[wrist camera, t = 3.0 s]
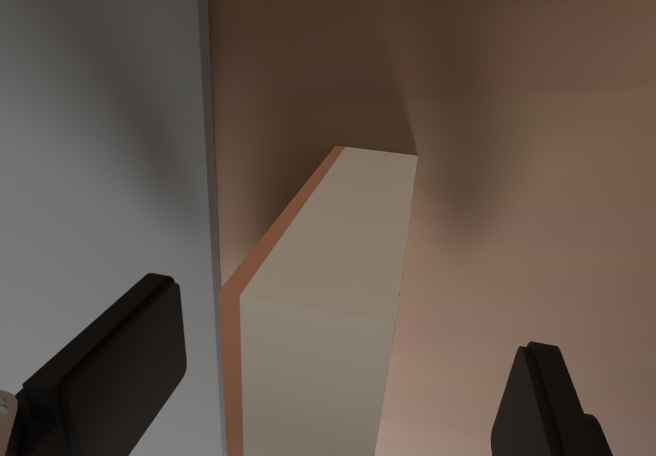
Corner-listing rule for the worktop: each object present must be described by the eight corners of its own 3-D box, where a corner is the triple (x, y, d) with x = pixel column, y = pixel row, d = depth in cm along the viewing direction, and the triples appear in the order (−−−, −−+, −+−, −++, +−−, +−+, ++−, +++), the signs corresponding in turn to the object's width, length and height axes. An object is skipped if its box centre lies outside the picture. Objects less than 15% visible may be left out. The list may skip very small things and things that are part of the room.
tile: (417, 155, 13) (395, 324, 6) (384, 369, 16) (344, 640, 9) (335, 145, 13) (218, 292, 6) (319, 356, 17) (234, 607, 10)
